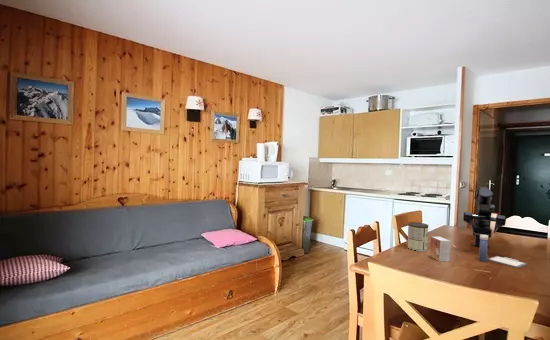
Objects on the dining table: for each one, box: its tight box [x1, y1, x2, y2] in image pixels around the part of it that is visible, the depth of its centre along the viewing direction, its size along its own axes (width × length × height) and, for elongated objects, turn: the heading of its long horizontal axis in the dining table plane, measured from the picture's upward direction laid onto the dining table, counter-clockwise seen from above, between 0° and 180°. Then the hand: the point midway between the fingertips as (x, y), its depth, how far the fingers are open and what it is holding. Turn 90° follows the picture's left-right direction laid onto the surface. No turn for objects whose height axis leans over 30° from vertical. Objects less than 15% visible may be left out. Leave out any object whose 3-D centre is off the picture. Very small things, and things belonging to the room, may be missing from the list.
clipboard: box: [487, 255, 528, 269], centre depth 150 cm, size 11×13×1 cm
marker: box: [478, 234, 489, 263], centre depth 151 cm, size 3×3×13 cm
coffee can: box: [406, 221, 430, 252], centre depth 168 cm, size 10×10×14 cm
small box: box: [429, 236, 452, 262], centre depth 152 cm, size 8×6×10 cm
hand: (483, 231), depth 157 cm, fingers open, 9 cm apart
